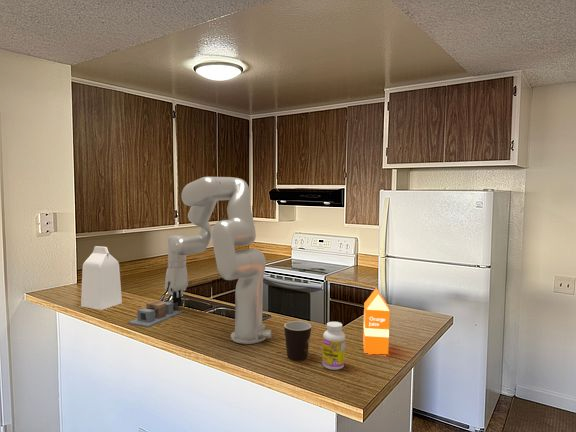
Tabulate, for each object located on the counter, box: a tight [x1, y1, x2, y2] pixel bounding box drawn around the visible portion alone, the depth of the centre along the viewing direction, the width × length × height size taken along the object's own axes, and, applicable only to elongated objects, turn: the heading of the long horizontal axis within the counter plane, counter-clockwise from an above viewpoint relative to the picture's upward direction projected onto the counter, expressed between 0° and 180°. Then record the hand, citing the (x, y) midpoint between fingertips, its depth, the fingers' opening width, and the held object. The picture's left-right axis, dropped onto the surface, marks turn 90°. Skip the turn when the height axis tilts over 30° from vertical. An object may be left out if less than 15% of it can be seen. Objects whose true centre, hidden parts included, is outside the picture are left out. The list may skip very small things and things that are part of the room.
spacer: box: [145, 300, 166, 319], centre depth 165 cm, size 6×4×5 cm, turn 67°
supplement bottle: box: [321, 321, 346, 371], centre depth 123 cm, size 7×7×13 cm
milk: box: [80, 245, 123, 311], centre depth 181 cm, size 12×12×26 cm
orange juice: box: [362, 287, 390, 355], centre depth 136 cm, size 8×9×20 cm
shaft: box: [155, 300, 179, 315], centre depth 168 cm, size 4×15×3 cm, turn 157°
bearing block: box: [127, 301, 183, 328], centre depth 165 cm, size 10×20×5 cm, turn 157°
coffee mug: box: [283, 320, 312, 362], centre depth 130 cm, size 12×9×10 cm
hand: (177, 305), depth 177 cm, fingers closed
